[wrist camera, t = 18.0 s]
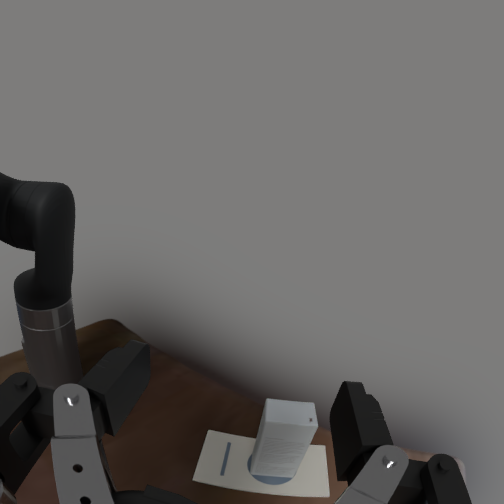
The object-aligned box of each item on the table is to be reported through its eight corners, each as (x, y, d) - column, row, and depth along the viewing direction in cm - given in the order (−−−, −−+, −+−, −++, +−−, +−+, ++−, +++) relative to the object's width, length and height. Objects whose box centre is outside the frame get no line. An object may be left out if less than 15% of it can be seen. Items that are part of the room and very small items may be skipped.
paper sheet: (192, 480, 27) (192, 479, 27) (208, 430, 37) (208, 429, 37) (328, 496, 26) (329, 495, 26) (324, 446, 36) (325, 445, 36)
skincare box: (292, 456, 33) (316, 402, 31) (293, 478, 29) (319, 426, 26) (250, 452, 34) (266, 396, 31) (248, 474, 29) (264, 421, 27)
